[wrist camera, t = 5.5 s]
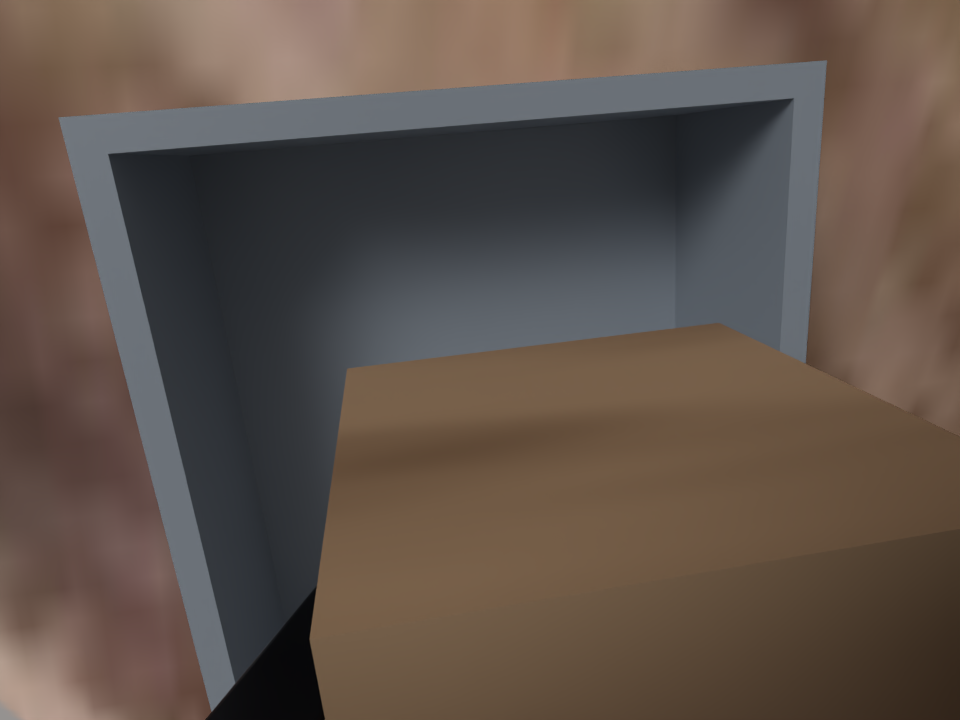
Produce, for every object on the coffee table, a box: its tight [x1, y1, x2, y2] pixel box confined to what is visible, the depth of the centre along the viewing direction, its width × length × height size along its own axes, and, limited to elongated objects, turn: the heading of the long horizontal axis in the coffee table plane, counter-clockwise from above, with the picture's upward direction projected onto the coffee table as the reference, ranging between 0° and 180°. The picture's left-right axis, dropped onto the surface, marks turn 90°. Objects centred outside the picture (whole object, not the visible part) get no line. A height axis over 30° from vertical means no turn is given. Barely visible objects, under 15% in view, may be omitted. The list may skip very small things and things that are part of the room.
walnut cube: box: [310, 323, 960, 720], centre depth 7 cm, size 5×5×5 cm
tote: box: [59, 61, 827, 711], centre depth 17 cm, size 13×17×6 cm
